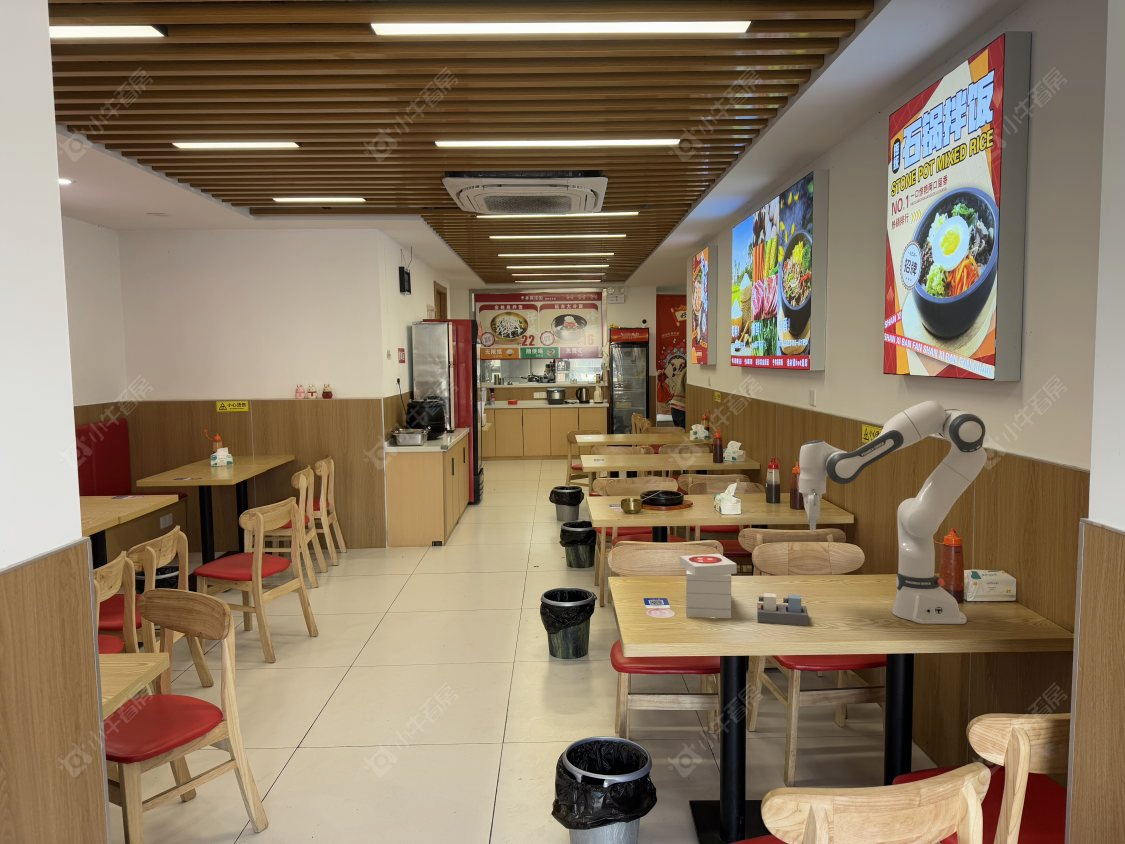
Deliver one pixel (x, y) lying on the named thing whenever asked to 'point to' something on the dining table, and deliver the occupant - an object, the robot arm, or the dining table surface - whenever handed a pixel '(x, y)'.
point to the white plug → (768, 602)
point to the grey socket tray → (782, 615)
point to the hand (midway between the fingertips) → (811, 527)
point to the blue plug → (793, 603)
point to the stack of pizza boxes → (708, 585)
